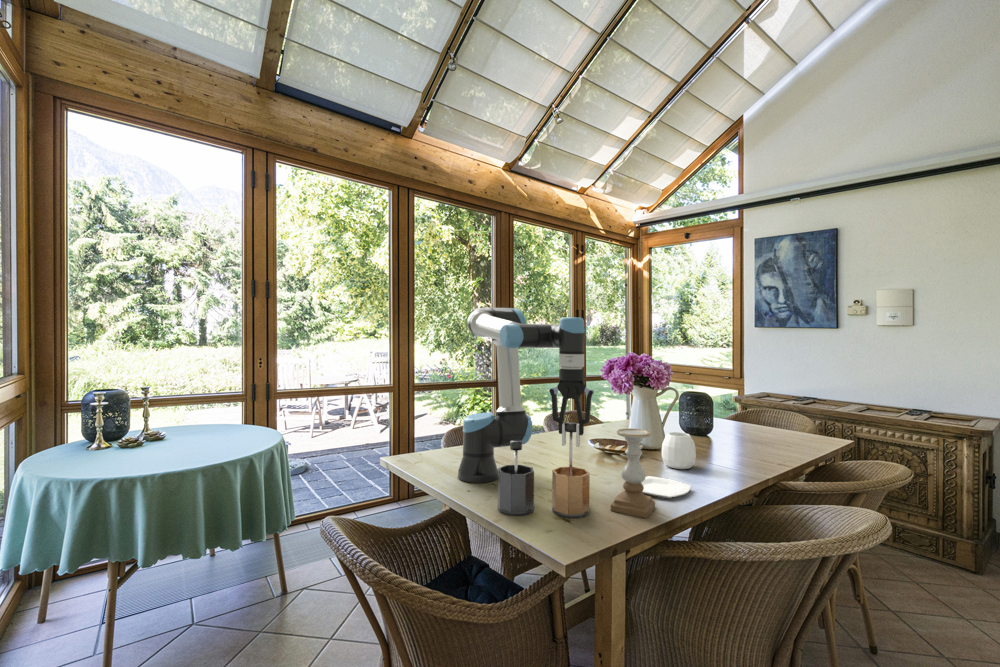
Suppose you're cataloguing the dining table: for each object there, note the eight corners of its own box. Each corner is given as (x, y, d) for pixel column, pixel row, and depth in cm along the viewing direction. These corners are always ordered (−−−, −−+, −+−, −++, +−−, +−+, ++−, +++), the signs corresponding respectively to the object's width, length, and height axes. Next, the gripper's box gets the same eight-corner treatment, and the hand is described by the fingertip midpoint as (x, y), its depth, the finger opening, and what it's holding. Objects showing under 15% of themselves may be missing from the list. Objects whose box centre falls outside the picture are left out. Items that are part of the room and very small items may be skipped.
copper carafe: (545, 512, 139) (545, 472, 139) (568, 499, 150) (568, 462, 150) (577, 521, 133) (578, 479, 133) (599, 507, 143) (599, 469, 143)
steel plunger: (497, 502, 141) (498, 441, 141) (513, 495, 148) (513, 437, 148) (518, 508, 136) (519, 445, 136) (533, 501, 143) (534, 440, 143)
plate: (646, 479, 174) (647, 473, 174) (698, 491, 161) (698, 485, 161) (619, 490, 161) (619, 485, 161) (673, 505, 147) (673, 499, 147)
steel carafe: (490, 509, 141) (490, 470, 141) (516, 497, 152) (517, 461, 152) (519, 518, 134) (520, 477, 134) (545, 505, 145) (545, 467, 145)
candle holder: (646, 518, 135) (647, 436, 135) (610, 511, 141) (610, 432, 141) (655, 507, 144) (656, 430, 145) (621, 500, 150) (621, 426, 150)
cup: (666, 460, 199) (666, 429, 199) (699, 466, 191) (699, 433, 191) (657, 467, 188) (657, 434, 188) (691, 473, 181) (691, 439, 181)
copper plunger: (552, 485, 140) (552, 423, 140) (565, 478, 146) (566, 419, 146) (575, 490, 135) (576, 426, 135) (588, 484, 141) (589, 423, 141)
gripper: (541, 368, 140) (541, 445, 139) (598, 369, 134) (597, 450, 134) (547, 366, 147) (546, 440, 147) (600, 368, 142) (600, 444, 141)
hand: (571, 445), depth 140 cm, fingers closed on copper plunger, 4 cm apart
